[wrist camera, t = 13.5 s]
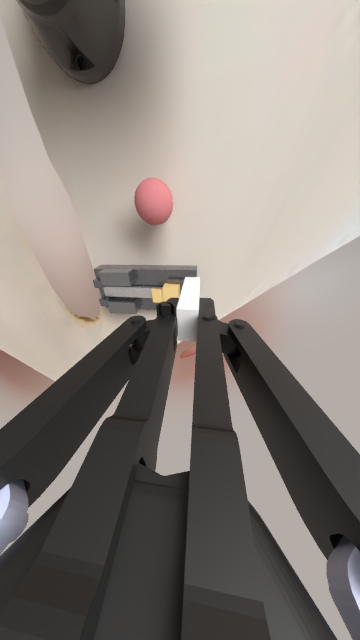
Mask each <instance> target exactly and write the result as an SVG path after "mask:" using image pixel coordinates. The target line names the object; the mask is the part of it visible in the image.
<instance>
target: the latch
mask: <svg viewBox="0 0 360 640" xmlns="http://www.w3.org/2000/svg"><path fill="white" fill-rule="evenodd" d="M152 297H153V302H156V303H160V302H165V301H167V300H168V299H169V298H180V283H165V284H164V286H163V288H162V289H152Z"/></svg>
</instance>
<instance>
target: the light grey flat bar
mask: <svg viewBox="0 0 360 640" xmlns="http://www.w3.org/2000/svg"><path fill="white" fill-rule="evenodd" d="M162 288H163V287H149V286H105V287H104V288H103V289H104V292H105V295H106V296H110V297H136V298H153V297H152V289H162Z"/></svg>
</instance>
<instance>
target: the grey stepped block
mask: <svg viewBox="0 0 360 640" xmlns="http://www.w3.org/2000/svg"><path fill="white" fill-rule="evenodd" d="M94 271H95V275H96V279H95V280H93V283H94V286H95V288H100V290H101V293H102V298H101V299H99V301H100V304H101V306H106V307H107V308H109V310H110V313H128V314H137V312H138V311H139V309H156V305H157V304H158V303H156V302H153V298H136V297H110V296H106V295H105V292H104V289H103V288H104V287H105V286H149V287H163V286H164V284H165V283H180V294H181V291H182V287H183V283H184V280H185V277H197V266H160V265H100V266H99V267H97V268H95V269H94Z"/></svg>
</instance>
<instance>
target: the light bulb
mask: <svg viewBox="0 0 360 640" xmlns="http://www.w3.org/2000/svg"><path fill="white" fill-rule="evenodd" d="M135 206H136V209H137V212H138V214H139V215H140V217H141V218H142V219H143V220H144V221H146V222H147V223H149V224H152V225H159V224H162V223H164V222H165V221H166V220H167V219H168V218H169V217H170V215H171V212H172V209H173V198H172V195H171V192H170V190H169V188H168V187H167V185H166V184H165V183H164V182H162V181H161V180H159V179H156V178H148V179H145V180H143V181H142V182H141V183H140V184H139V185H138V187H137V189H136V192H135Z"/></svg>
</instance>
